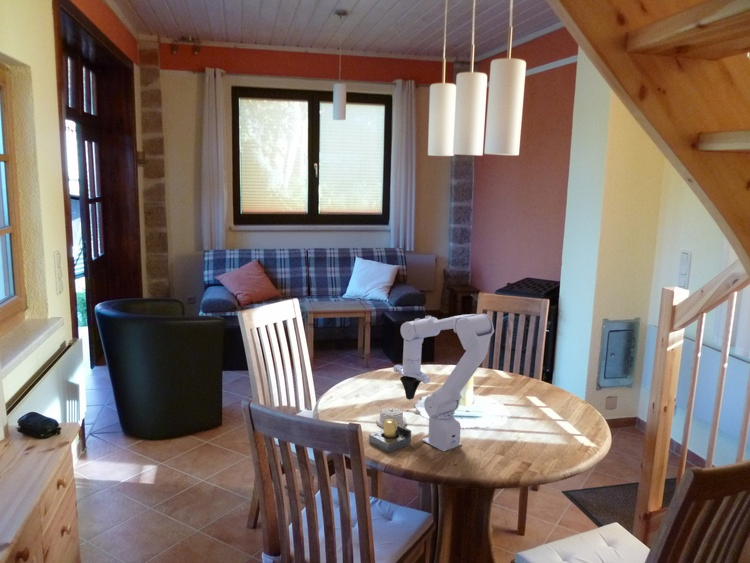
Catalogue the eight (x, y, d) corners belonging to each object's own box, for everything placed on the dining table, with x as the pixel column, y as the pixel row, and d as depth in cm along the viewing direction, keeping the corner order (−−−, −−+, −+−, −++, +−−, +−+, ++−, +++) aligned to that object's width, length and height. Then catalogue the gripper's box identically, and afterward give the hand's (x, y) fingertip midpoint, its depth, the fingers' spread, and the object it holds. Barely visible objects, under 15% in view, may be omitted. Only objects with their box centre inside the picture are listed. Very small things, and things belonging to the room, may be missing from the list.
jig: (410, 444, 181) (411, 430, 180) (388, 452, 175) (388, 438, 175) (391, 434, 188) (391, 421, 187) (369, 441, 182) (369, 427, 182)
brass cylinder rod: (399, 443, 182) (399, 422, 180) (389, 447, 179) (390, 425, 178) (390, 439, 185) (390, 418, 183) (380, 443, 182) (381, 421, 181)
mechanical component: (372, 427, 194) (403, 431, 191) (373, 414, 193) (403, 418, 191) (379, 416, 203) (408, 419, 201) (380, 404, 202) (409, 407, 200)
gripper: (387, 354, 193) (385, 394, 195) (419, 366, 182) (417, 408, 184) (403, 350, 197) (401, 389, 199) (435, 362, 186) (432, 403, 189)
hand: (410, 398), depth 192 cm, fingers closed
